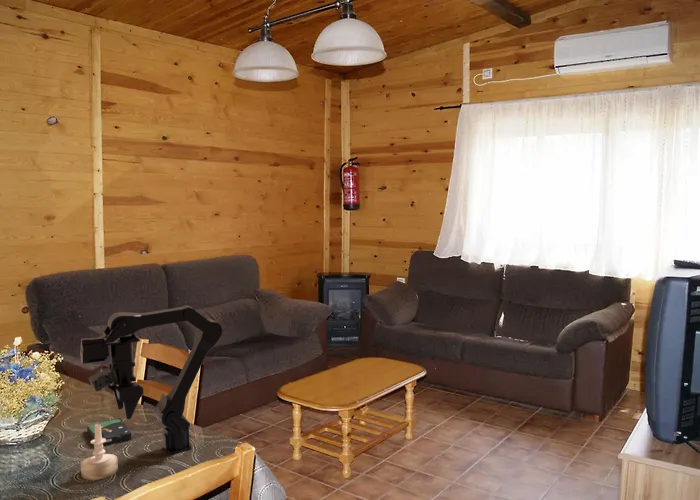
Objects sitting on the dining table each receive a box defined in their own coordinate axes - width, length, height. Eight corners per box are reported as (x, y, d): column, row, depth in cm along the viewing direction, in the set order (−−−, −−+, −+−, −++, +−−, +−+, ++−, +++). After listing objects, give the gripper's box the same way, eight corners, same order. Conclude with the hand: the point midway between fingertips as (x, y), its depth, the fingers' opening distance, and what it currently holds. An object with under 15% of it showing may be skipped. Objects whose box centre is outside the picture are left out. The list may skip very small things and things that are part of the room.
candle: (112, 455, 165) (110, 418, 164) (105, 464, 160) (103, 426, 159) (93, 456, 165) (91, 419, 164) (85, 465, 160) (83, 426, 159)
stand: (113, 461, 169) (112, 451, 168) (121, 473, 161) (121, 462, 161) (78, 470, 164) (77, 459, 163) (85, 483, 156) (84, 471, 156)
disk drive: (132, 441, 184) (120, 425, 196) (132, 432, 184) (120, 417, 196) (96, 449, 178) (86, 432, 191) (95, 440, 178) (85, 424, 190)
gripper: (83, 356, 171) (86, 410, 172) (98, 372, 155) (101, 431, 157) (124, 350, 177) (127, 402, 178) (142, 364, 162) (145, 421, 163)
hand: (124, 413), depth 169 cm, fingers open, 9 cm apart
